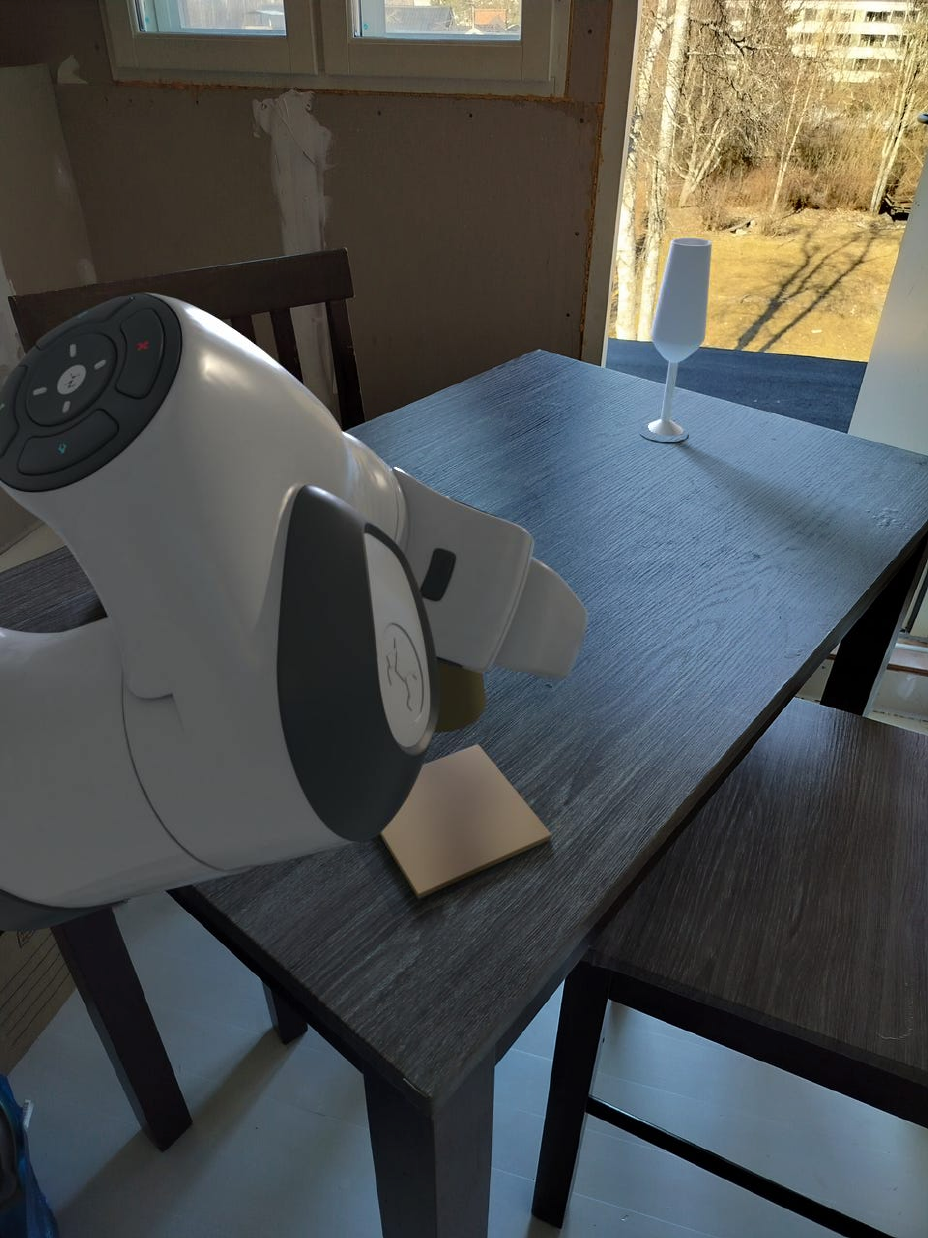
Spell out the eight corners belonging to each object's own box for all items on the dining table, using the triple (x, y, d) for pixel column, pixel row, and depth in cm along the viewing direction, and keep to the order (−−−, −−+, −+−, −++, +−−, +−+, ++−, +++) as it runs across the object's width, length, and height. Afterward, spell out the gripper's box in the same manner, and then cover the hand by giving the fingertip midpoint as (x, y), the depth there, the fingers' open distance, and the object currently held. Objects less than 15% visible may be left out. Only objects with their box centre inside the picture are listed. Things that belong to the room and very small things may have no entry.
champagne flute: (634, 439, 113) (659, 245, 99) (641, 420, 118) (666, 234, 104) (686, 445, 111) (718, 249, 97) (691, 426, 116) (722, 237, 103)
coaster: (418, 899, 53) (418, 894, 53) (355, 795, 60) (355, 790, 60) (551, 839, 57) (552, 834, 57) (478, 748, 64) (478, 743, 64)
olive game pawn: (375, 717, 53) (364, 565, 46) (415, 662, 57) (410, 517, 51) (465, 743, 51) (466, 588, 45) (500, 684, 55) (505, 536, 49)
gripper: (139, 558, 42) (286, 621, 55) (512, 681, 34) (582, 721, 47) (187, 442, 43) (320, 530, 55) (563, 536, 35) (618, 614, 48)
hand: (443, 619), depth 51 cm, fingers closed on olive game pawn, 4 cm apart
